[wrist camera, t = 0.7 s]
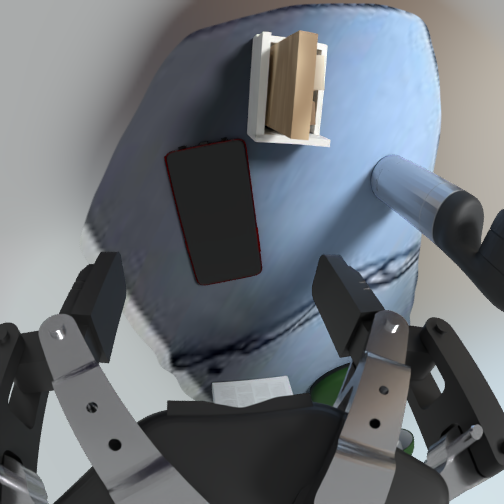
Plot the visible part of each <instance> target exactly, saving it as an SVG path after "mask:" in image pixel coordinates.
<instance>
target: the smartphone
mask: <svg viewBox="0 0 504 504" xmlns="http://www.w3.org/2000/svg"><path fill="white" fill-rule="evenodd" d="M243 142H244V141H243V140H242V139H230V140H226V138H223V139H222V141H219V142H213V143H208V141H207V142H202V143H199V144H200V145H198V146H193V147H188V148H185V147H186V146H182V147H179V149H180V150H174V151H171V152H169V153H168V154H167V155H168V156H167V155H166V156H167V160H166V156H165V162H166V166H167V171H168V175H169V179H170V177H171V179H170V183H171V181H172V183H171V187H172V186H173V187H172V191H173V190H174V192H173V196H174V194H175V196H174V200H175V198H176V200H175V204H176V202H177V204H176V207H177V206H178V208H177V211H178V210H179V211H178V215H179V214H180V215H179V219H180V218H181V219H180V223H181V222H182V223H181V227H182V226H183V227H182V230H183V229H184V230H183V234H184V233H185V234H184V238H185V237H186V238H185V244H186V247H187V251H188V254H189V256H190V255H191V256H190V260H191V263H192V262H193V263H192V266H193V270H194V269H195V270H194V273H195V277H196V276H197V277H196V280H197V282H198V283H199V284H200V285H210V284H215V283H221V282H226V281H231V280H236V279H241V278H246V277H251V276H255V275H258V274H260V273H261V271H262V261H261V263H260V260H261V254H260V256H259V253H260V252H261V250H260V242H259V234H258V227H257V223H256V225H255V222H256V215H255V208H254V210H253V207H254V200H253V193H252V196H251V192H252V185H251V188H250V184H251V178H250V181H249V177H250V170H249V174H248V169H249V163H248V166H247V162H248V156H247V159H246V155H247V148H246V152H245V147H246V144H245V145H244V143H245V142H244V143H243ZM181 148H185V149H181ZM167 164H168V165H167ZM168 168H169V169H168ZM252 200H253V203H252ZM254 215H255V218H254Z"/></svg>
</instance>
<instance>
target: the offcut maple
mask: <svg viewBox="0 0 504 504" xmlns="http://www.w3.org/2000/svg"><path fill="white" fill-rule="evenodd" d="M314 90H324V56H323V55H316V68H315V80H314Z"/></svg>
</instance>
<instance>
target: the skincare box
mask: <svg viewBox="0 0 504 504" xmlns="http://www.w3.org/2000/svg"><path fill="white" fill-rule="evenodd" d="M212 393H213V402H214V403H216V404H221V405H227V406H233V407H246V406H250V405H253V404H256V403H259V402H262V401H265V400H268V399H271V398H274V397H279V396H288V395H293V393H292V390H291V386H290V383H289V380H288V376H280V377H273V378H263V379H254V380H244V381H232V382H216V383H212Z"/></svg>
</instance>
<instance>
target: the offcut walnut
mask: <svg viewBox="0 0 504 504" xmlns="http://www.w3.org/2000/svg"><path fill="white" fill-rule="evenodd" d="M310 125H316V120H315V102H314V101H313V102H312V112H311V122H310Z"/></svg>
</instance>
